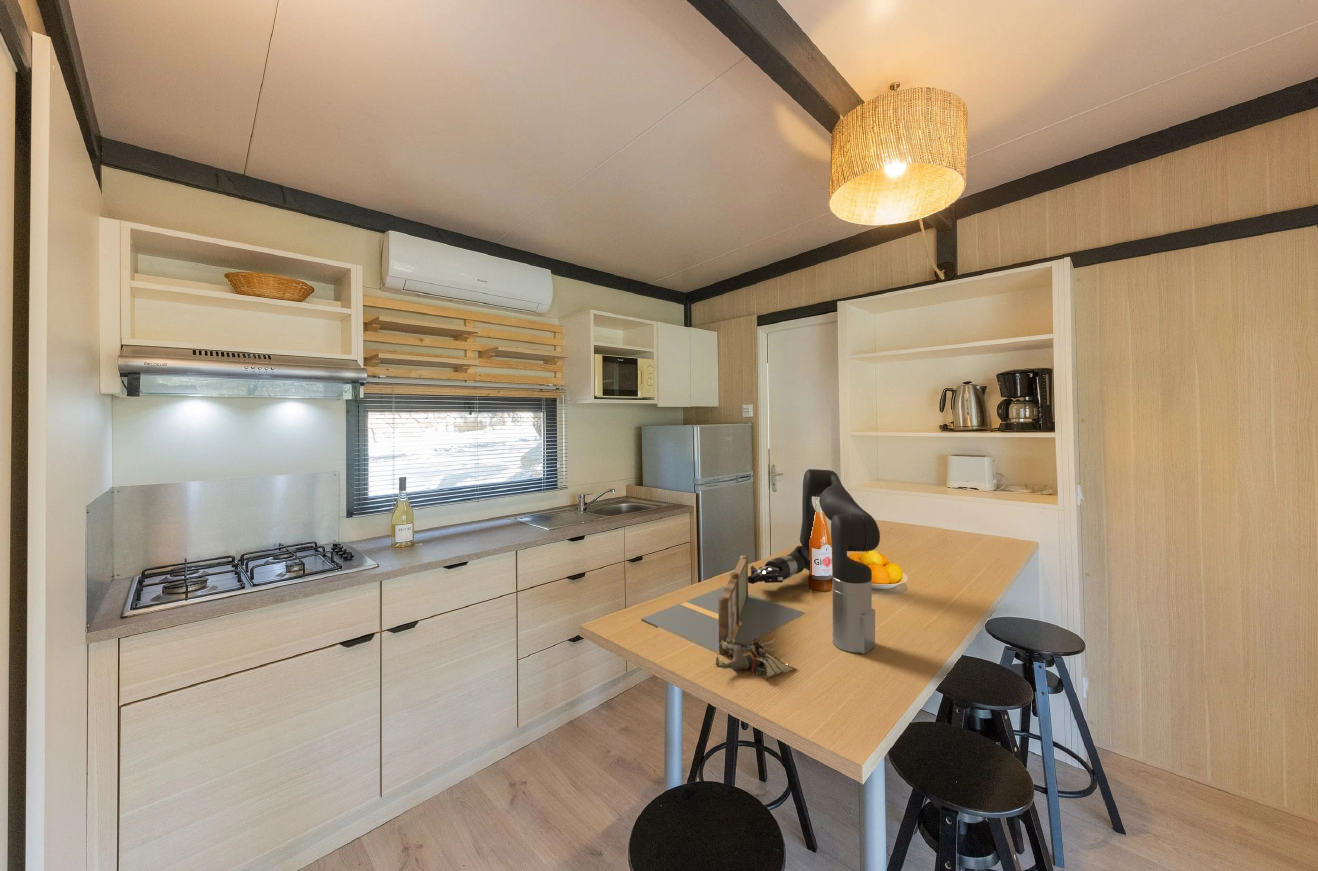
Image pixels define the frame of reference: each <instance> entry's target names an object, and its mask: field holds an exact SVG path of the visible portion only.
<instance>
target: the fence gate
mask: <svg viewBox="0 0 1318 871" xmlns="http://www.w3.org/2000/svg"><path fill="white" fill-rule="evenodd" d="M748 560H749V558H748V555H745V554H744V555H739V561H738V562H737V564H736V566H735V569H734V570H733V572H732V573H738V574H739V617H740V614H741V611H742V608H743V606H744V603H745V600H746V598H748V594H749V583H748V576H749V568H748V567H749V565H748V564H749V563H748V562H749V561H748Z"/></svg>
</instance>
